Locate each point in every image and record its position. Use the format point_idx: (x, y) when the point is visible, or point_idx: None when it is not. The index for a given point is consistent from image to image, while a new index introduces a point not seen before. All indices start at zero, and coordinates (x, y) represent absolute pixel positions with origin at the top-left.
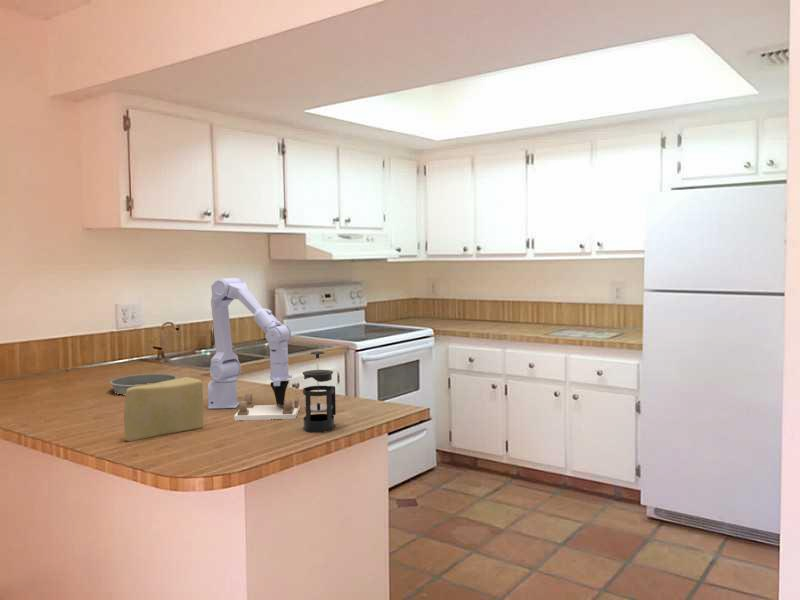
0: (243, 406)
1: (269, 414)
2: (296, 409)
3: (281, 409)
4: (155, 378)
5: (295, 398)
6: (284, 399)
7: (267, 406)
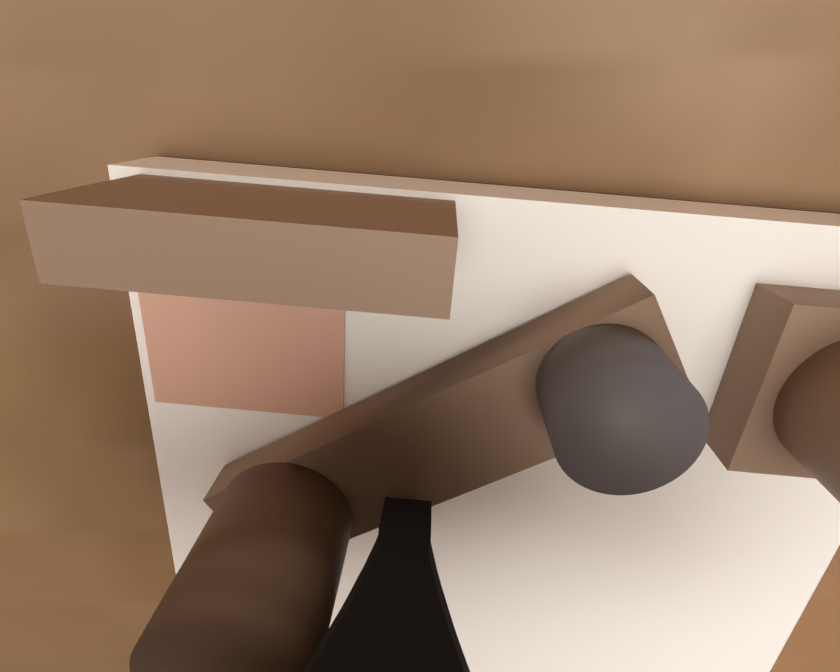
0: None
1: (767, 604)
2: (573, 224)
3: None
4: None
5: (182, 295)
6: (271, 520)
7: None
